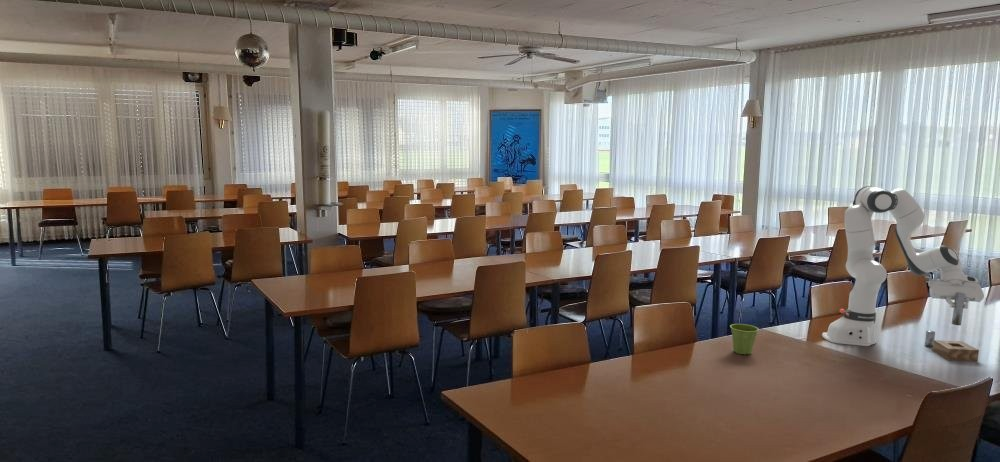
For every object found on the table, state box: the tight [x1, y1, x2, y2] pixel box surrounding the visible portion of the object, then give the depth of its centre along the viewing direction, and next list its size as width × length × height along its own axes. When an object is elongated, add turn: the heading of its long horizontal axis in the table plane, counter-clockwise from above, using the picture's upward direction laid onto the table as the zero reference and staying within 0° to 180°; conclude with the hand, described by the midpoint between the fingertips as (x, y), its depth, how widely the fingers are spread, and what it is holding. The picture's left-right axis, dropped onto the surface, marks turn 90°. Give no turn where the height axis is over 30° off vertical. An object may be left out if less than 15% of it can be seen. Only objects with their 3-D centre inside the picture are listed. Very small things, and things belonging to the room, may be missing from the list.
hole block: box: [932, 339, 980, 362], centre depth 286 cm, size 12×12×5 cm
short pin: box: [924, 329, 936, 348], centre depth 299 cm, size 4×4×7 cm
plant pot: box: [729, 323, 760, 355], centre depth 286 cm, size 12×12×11 cm
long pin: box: [951, 292, 965, 326], centre depth 288 cm, size 4×4×14 cm
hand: (959, 307), depth 287 cm, fingers closed on long pin, 3 cm apart
